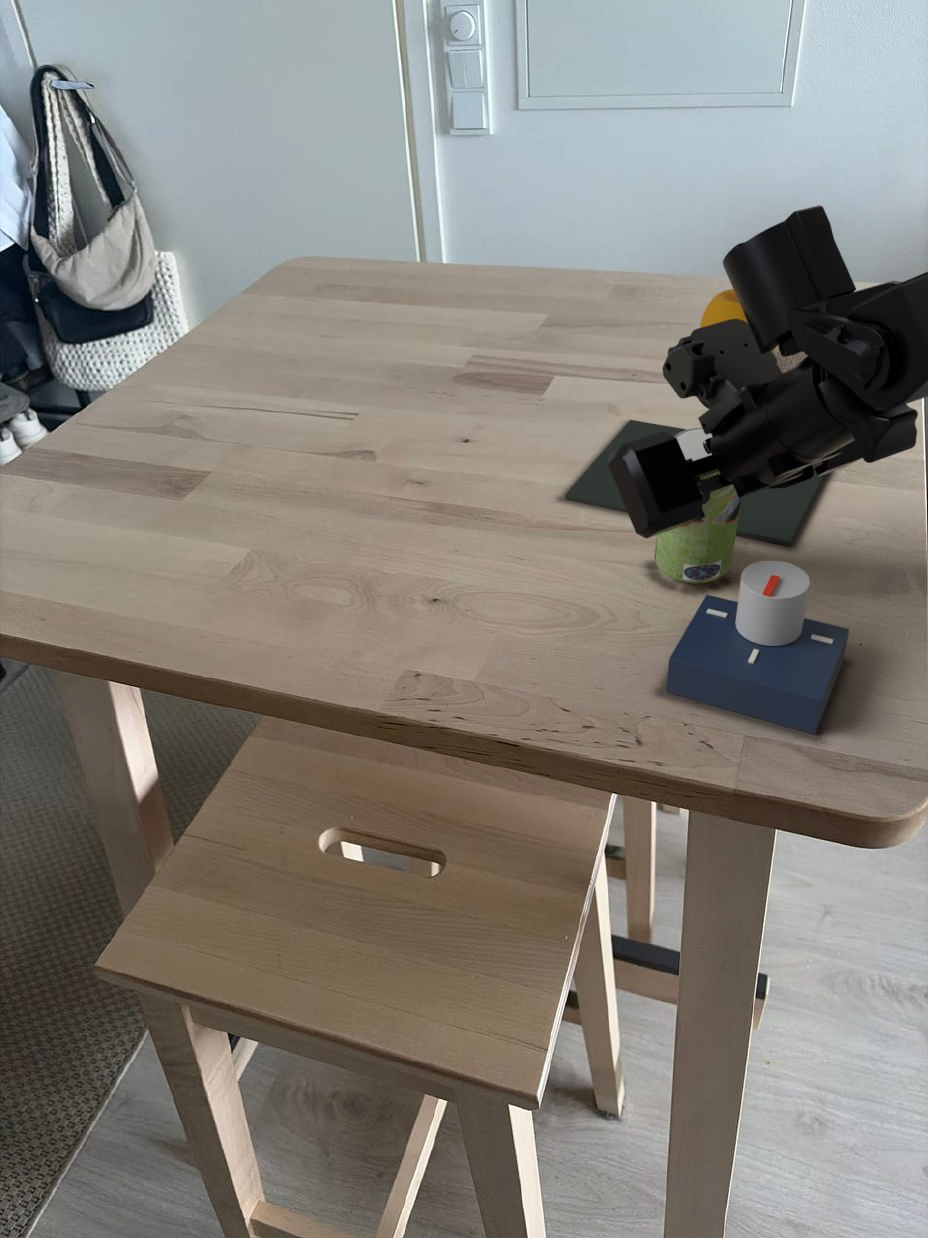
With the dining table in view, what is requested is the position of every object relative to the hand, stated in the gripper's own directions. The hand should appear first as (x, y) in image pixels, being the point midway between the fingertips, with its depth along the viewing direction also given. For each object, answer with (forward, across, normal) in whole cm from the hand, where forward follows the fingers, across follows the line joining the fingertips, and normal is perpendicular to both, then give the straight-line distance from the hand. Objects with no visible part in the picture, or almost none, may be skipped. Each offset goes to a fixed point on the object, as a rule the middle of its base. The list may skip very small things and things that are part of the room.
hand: (680, 493), depth 76 cm
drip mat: (+12, -11, -2) cm, 16 cm away
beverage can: (+4, 0, +6) cm, 7 cm away
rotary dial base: (-5, +3, +14) cm, 15 cm away
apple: (+24, -28, -14) cm, 40 cm away
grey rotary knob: (-6, +2, +12) cm, 13 cm away
